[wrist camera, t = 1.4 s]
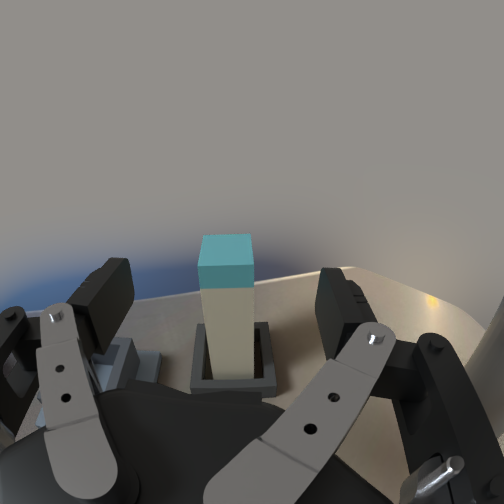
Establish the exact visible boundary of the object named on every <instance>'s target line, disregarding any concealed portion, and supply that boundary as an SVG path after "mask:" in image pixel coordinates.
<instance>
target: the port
mask: <svg viewBox="0 0 504 504" xmlns="http://www.w3.org/2000/svg"><path fill="white" fill-rule="evenodd" d="M91 359H92V361H93V363H94V367H95V370H96V373H97V376H98V379H99V382H100V384H101V387H102V390H103V392H104V391H107V390H111V389H116V388H125V386H126V383H127V381H128V378H129V379H135V380H141V381H147V382H153V383H157V379H158V374H159V369H160V364H161V359H162V356H161V353H160V351H138V350H136V348H135V346H134V343H133V340H132V338H119V337H114V338H113V340H112V342H111V344H110V345H109V347H108V349H107V351H106V353H105V355H100V354H95V353H93V355H92V356H91ZM37 399H38V400H39V401H40V402H41V404H42V400H41V394H40V391H39V393H38V396H37ZM35 425H36V426H37V427H38V428H39V429H40V428H41V427H43V426H45V425H46V423H45V418H44V412H43V406H42V408H41V411H40V413H39V416H38V418H37V421H36V424H35Z"/></svg>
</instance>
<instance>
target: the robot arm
mask: <svg viewBox="0 0 504 504" xmlns="http://www.w3.org/2000/svg"><path fill="white" fill-rule="evenodd" d="M133 301H134V286H133V281H132V275H131V269H130V264H129V261H128V259H127V258H109V259H108V261H107V262H106V263H105V264H104V265H103V266H102V267H101V268H99V269H97V270H95V271H94V272H92V273H91V274H90V275H89V276H88V277H87V278H86V279H85V282H83V283H82V284H81V285H80V287H79V288H78V289H77V290H76V291H75V292H74V293H73V294H72V296H71V297H70V298H69V299H68V301H67V302H66V303H56V304H53V305H51V306H49V307H47V308H46V309H45V310H44V311H43V312H42V313H41V315H40V317H31V318H27V316H26V313H25V311H24V309H23V308H22V307H19V306H15V307H10V308H8V309H6V310H4V311H3V312H2V313H1V314H0V504H393V502H392V501H391V500H390V499H388V498H387V497H386V496H385V495H383V494H382V493H381V492H380V491H378V490H377V489H376V488H375V487H373V486H372V485H371V484H370V483H368V482H367V481H366V480H365V479H364V478H362V477H361V476H360V475H359V474H358V473H356V472H355V471H354V470H353V469H352V468H351V467H349V466H348V465H347V464H346V463H345V462H344V461H343V460H341V459H340V458H339V457H338V456H337V455H336V454H335V453H336V452H337V450H338V449H339V447H340V446H341V444H342V443H343V441H344V439H345V438H346V436H347V435H348V433H349V431H350V430H351V428H352V426H353V425H354V423H355V422H356V420H357V418H358V416H359V415H360V413H361V411H362V410H363V408H364V406H365V404H366V403H367V401H368V399H369V397H370V396H375V397H381V398H387V399H391V400H392V403H393V407H394V411H395V414H396V418H397V422H398V426H399V430H400V434H401V438H402V442H403V446H404V450H405V455H406V459H407V464H408V468H409V473H410V476H408V477H407V478H406V479H405V481H404V482H403V484H402V486H401V490H400V502H399V504H504V457H503V454H502V451H501V448H500V446H499V443H498V441H497V438H498V437H500V436H501V435H502V434H503V433H504V297H503V299H502V302H501V304H500V306H499V308H498V310H497V312H496V314H495V316H494V318H493V319H492V321H491V323H490V325H489V327H488V329H487V331H486V332H485V334H484V336H483V338H482V339H481V341H480V343H479V345H478V346H477V348H476V350H475V351H474V353H473V354H472V356H471V358H470V359H469V361H468V362H467V364H466V365H465V367H463V365H462V363H461V361H460V359H459V357H458V356H457V354H456V352H455V350H454V348H453V347H452V345H451V343H450V342H449V341H448V340H447V339H446V338H444V337H443V336H441V335H439V334H436V333H425V334H422V335H421V336H420V337H419V339H418V341H417V343H411V342H406V341H401V340H397V339H396V336H395V334H394V332H393V331H392V330H391V329H390V328H389V327H387V326H385V325H383V324H381V323H378V322H377V320H376V318H375V315H374V313H373V311H372V309H371V307H370V305H369V303H367V302H368V301H367V299H366V297H364V294H363V292H362V290H361V288H360V287H359V286H358V285H357V284H356V283H355V282H353V281H352V280H346V279H345V276H344V274H343V272H342V270H341V269H340V268H322V269H321V272H320V278H319V284H318V289H317V295H316V301H315V314H316V318H317V322H318V326H319V330H320V334H321V339H322V343H323V347H324V351H325V356H326V360H327V362H326V363H325V364H324V366H323V367H322V368H321V369H320V371H319V372H318V373H317V374H316V376H315V377H314V378H313V379H312V380H311V382H310V383H309V384H308V385H307V386H306V388H305V389H304V390H303V391H302V392H301V394H300V395H299V396H298V397H297V398H296V399H295V401H294V402H293V403H292V404H291V405H290V406H289V407H288V408H287V410H286V411H285V410H284V409H282V408H279V407H277V406H275V405H272V404H269V403H265V402H262V392H247V391H228V390H227V391H219V392H211V393H202V394H187V393H184V392H181V391H178V390H176V389H173V388H170V387H167V386H164V385H162V384H159V383H153V382H147V381H141V380H135V379H129V378H128V381H127V383H126V386H125V388H116V389H111V390H107V391H104V392H103V390H102V387H101V384H100V382H99V379H98V376H97V373H96V370H95V367H94V363H93V361H92V359H91V356H92V355H93V353H95V354H100V355H105V353H106V351H107V349H108V347H109V345H110V344H111V342H112V340H113V338H114V336H115V334H116V332H117V331H118V329H119V327H120V325H121V323H122V322H123V320H124V318H125V316H126V314H127V313H128V311H129V309H130V307H131V306H132V304H133ZM11 352H12V353H13V355H14V357H15V359H16V361H17V363H16V364H15V366H14V368H13V369H12V371H11V373H10V374H9V376H8V378H7V379H6V378H5V377H4V375H3V365H4V362H5V361H6V359H7V358H8V356H9V355H10V353H11ZM39 386H40V394H41V400H42V406H43V412H44V418H45V423H46V425H45V426H43V427H41V428H40V429H38V430H36V431H35V432H33V433H31V434H29V435H28V436H26V437H24V438H22V439H20V440H19V441H17V442H15V437H16V435H17V433H18V430H19V428H20V426H21V424H22V421H23V419H24V417H25V415H26V413H27V411H28V409H29V406H30V404H31V402H32V400H33V398H34V396H35V394H36V392H37V390H38V388H39Z"/></svg>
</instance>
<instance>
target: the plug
mask: <svg viewBox="0 0 504 504" xmlns="http://www.w3.org/2000/svg"><path fill="white" fill-rule="evenodd" d="M198 275H199V283H200V291H201V299H202V307H203V314H204V321H205V328H206V335H207V342H208V349H209V355H210V362H211V368H212V374H213V380H233V379H254V261H253V252H252V243H251V235H250V234H230V235H229V234H228V235H204V236H203V241H202V246H201V251H200V256H199V261H198Z"/></svg>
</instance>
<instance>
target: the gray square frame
mask: <svg viewBox="0 0 504 504" xmlns="http://www.w3.org/2000/svg"><path fill="white" fill-rule="evenodd" d="M254 341H260V351H261V360H262V370H263V378H260V379H233V380H205V365H206V352H207V335H206V328H205V324H197V330H196V338H195V347H194V355H193V364H192V373H191V383H190V390H191V393H192V394H202V393H211V392H219V391H227V390H228V391H247V392H262V398H269V397H276V390H277V383H276V376H275V369H274V361H273V354H272V347H271V340H270V333H269V326H268V322H254Z"/></svg>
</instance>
